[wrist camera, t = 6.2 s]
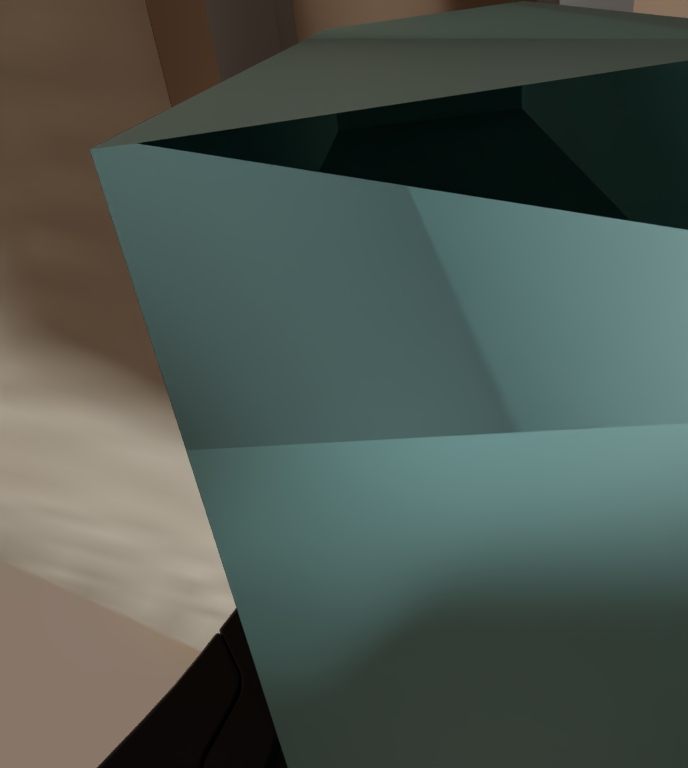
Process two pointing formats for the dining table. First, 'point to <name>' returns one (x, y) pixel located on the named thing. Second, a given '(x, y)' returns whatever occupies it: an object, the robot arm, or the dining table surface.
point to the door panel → (437, 378)
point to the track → (294, 29)
